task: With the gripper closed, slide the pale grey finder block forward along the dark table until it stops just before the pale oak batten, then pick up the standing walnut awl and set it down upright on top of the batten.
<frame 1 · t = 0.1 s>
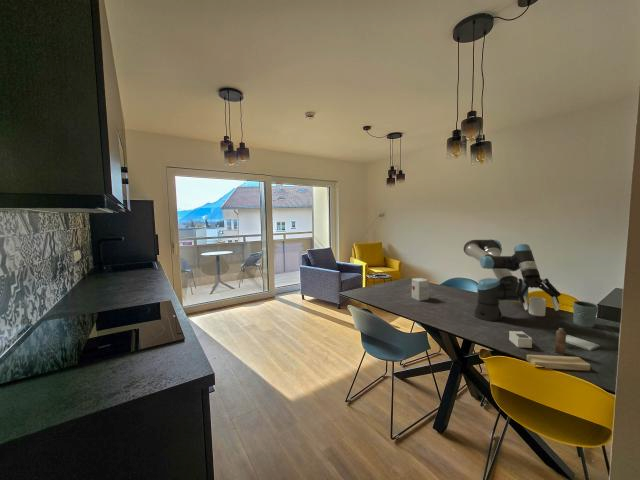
hand: (542, 309, 137), 15 cm above the table, tool tilted 35°, fingers open, 13 cm apart
grey round pot: (584, 324, 153), on the table
batten: (556, 365, 115), on the table
mug: (538, 313, 171), on the table
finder: (520, 338, 133), point 3 cm above the table, slide at 0.0 cm
supplement box: (419, 298, 207), on the table
hard drive: (578, 344, 133), on the table
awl: (559, 352, 124), on the table
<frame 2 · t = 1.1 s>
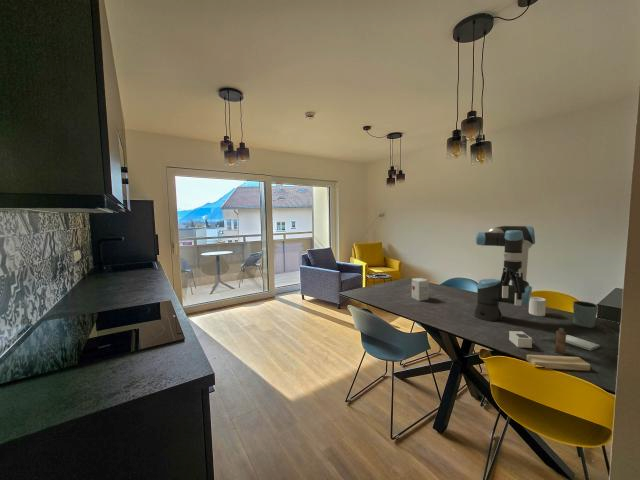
hand: (511, 301, 141), 18 cm above the table, tool pointing down, fingers open, 12 cm apart
nothing on the table moved.
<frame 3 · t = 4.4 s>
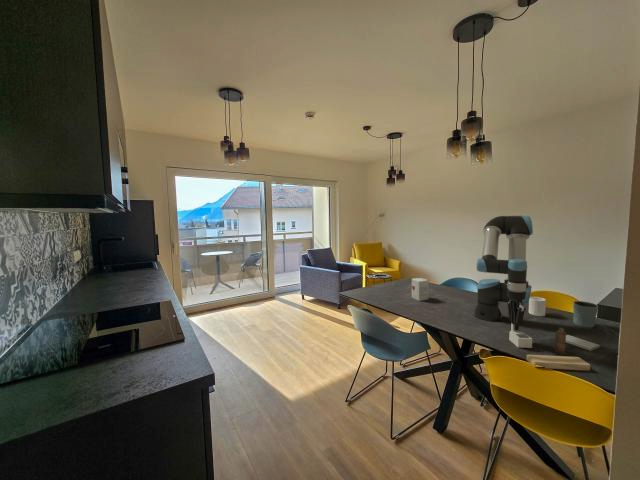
hand: (514, 335, 138), 2 cm above the table, tool pointing down, fingers closed
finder: (520, 338, 133), point 3 cm above the table, slide at 0.2 cm, touching gripper
everything else where it was.
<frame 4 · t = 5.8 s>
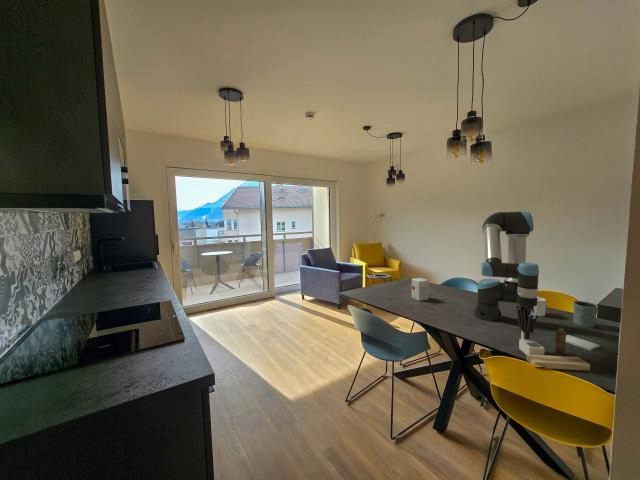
hand: (524, 344, 129), 2 cm above the table, tool pointing down, fingers closed
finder: (531, 347, 124), point 3 cm above the table, slide at 9.0 cm, touching gripper
everything else where it was.
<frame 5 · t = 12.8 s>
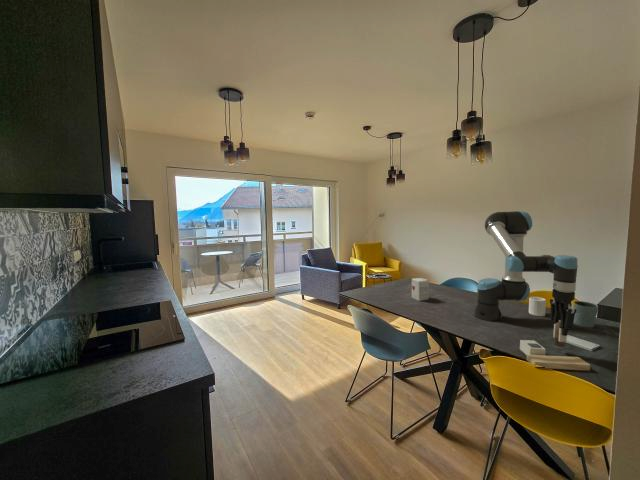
hand: (559, 339, 124), 6 cm above the table, tool pointing down, fingers closed on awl, 3 cm apart
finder: (532, 348, 123), point 3 cm above the table, slide at 9.7 cm
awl: (559, 344, 125), point 4 cm above the table, touching gripper
everything else where it was.
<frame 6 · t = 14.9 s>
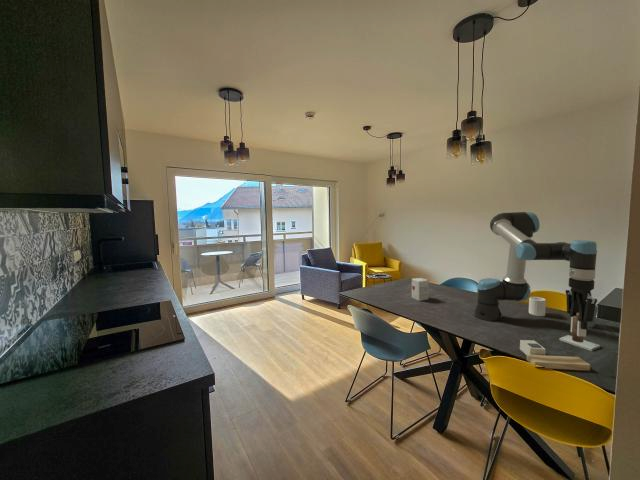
hand: (578, 334, 112), 14 cm above the table, tool pointing down, fingers closed on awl, 3 cm apart
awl: (577, 340, 112), point 11 cm above the table, touching gripper
everything else where it was.
when the fingers open (3 cm above the table, at t = 16.9 s): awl stays where it is, resting on batten.
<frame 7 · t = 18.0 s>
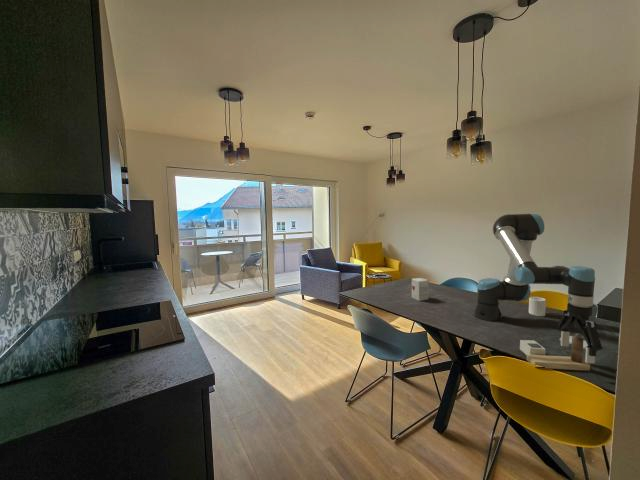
hand: (576, 353, 113), 5 cm above the table, tool pointing down, fingers open, 13 cm apart
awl: (576, 360, 113), point 3 cm above the table, touching batten
everything else where it was.
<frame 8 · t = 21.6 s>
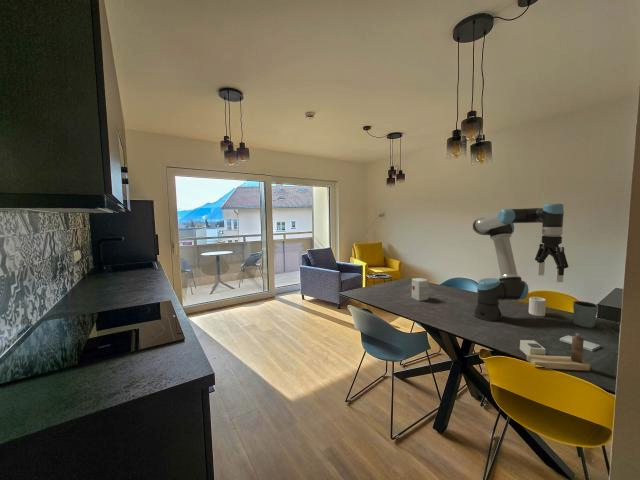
hand: (549, 278, 134), 32 cm above the table, tool pointing down, fingers open, 13 cm apart
nothing on the table moved.
at the end: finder slide at 9.7 cm; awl inside the target area on the batten (7.0 cm from its centre), point 2.5 cm above the batten's base; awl tilted 0° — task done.
